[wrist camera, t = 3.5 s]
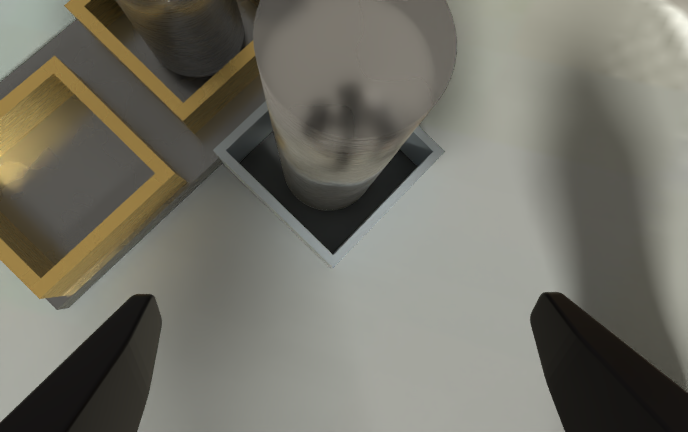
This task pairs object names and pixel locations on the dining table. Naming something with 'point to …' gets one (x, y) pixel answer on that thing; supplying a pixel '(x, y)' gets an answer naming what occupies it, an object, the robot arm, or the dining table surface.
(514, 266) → the dining table surface
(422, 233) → the dining table surface
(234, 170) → the grey square dish
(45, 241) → the gold holder tray
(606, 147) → the dining table surface
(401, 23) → the billet
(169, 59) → the billet twin
